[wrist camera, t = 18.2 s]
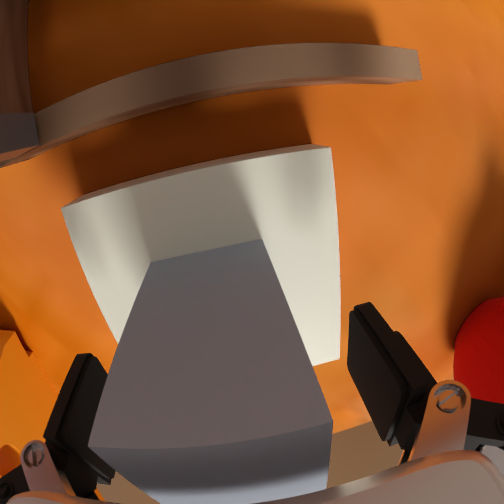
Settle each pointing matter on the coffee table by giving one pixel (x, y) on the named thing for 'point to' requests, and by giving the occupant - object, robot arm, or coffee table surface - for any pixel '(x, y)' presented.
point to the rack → (185, 79)
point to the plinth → (221, 231)
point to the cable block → (214, 386)
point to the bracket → (21, 400)
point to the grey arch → (17, 134)
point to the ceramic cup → (482, 352)
